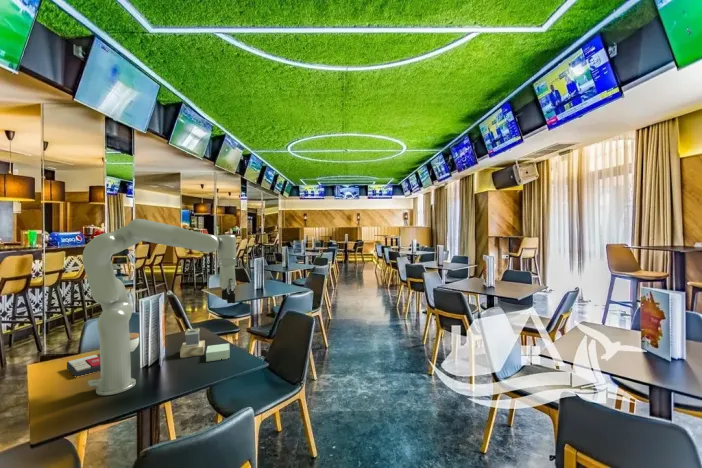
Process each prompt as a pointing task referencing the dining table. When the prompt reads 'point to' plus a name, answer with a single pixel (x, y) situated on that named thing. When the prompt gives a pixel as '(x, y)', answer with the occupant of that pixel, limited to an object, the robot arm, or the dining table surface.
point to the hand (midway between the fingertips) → (228, 301)
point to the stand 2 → (217, 352)
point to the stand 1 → (192, 350)
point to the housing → (192, 337)
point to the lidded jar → (134, 341)
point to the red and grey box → (84, 365)
